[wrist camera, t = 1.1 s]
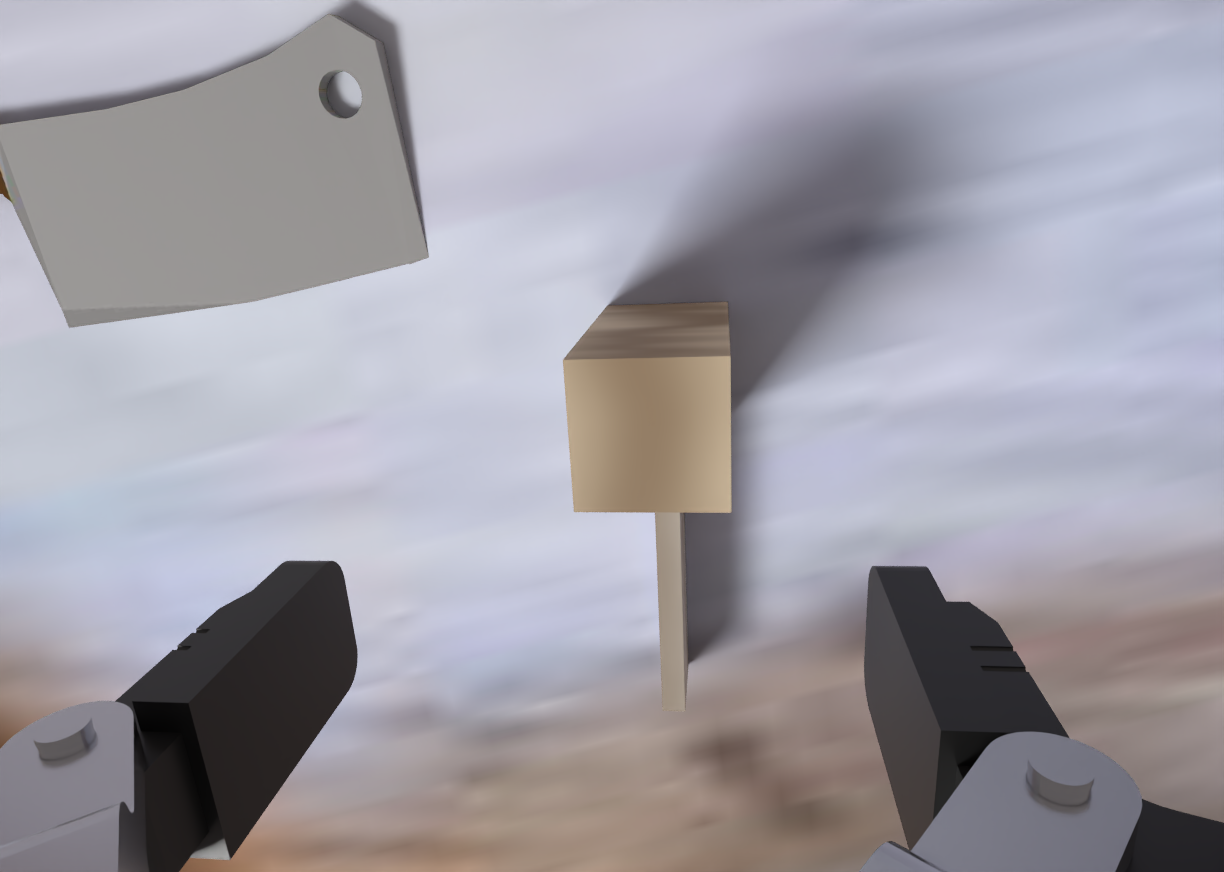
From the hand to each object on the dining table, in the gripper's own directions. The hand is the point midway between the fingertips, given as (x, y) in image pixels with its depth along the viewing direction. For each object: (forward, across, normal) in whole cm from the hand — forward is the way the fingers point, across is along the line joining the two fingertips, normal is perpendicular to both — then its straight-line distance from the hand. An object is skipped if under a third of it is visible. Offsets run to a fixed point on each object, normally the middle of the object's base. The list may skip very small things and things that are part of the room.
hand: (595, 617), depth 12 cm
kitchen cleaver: (+17, +20, -6) cm, 27 cm away
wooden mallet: (+16, 0, +5) cm, 17 cm away
